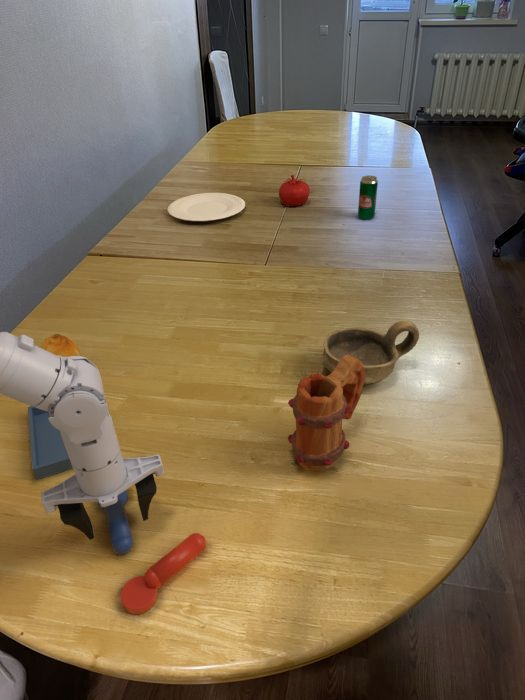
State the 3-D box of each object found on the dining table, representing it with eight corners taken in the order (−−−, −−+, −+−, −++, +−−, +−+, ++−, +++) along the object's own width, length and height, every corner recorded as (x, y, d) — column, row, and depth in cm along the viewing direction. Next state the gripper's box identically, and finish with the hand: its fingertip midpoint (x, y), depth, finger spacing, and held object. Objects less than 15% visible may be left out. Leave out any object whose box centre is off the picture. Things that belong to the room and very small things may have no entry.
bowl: (313, 353, 101) (315, 310, 95) (401, 345, 102) (407, 302, 96) (328, 399, 90) (330, 353, 84) (426, 390, 91) (435, 344, 85)
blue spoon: (142, 551, 67) (139, 539, 66) (109, 563, 66) (105, 552, 64) (124, 484, 76) (121, 472, 75) (96, 493, 75) (92, 481, 74)
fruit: (97, 354, 100) (68, 322, 96) (70, 382, 94) (39, 349, 91) (74, 363, 105) (46, 333, 101) (47, 390, 99) (17, 359, 96)
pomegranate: (312, 207, 166) (312, 178, 160) (281, 210, 165) (281, 180, 159) (306, 197, 174) (306, 169, 168) (276, 199, 173) (276, 171, 167)
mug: (318, 489, 74) (322, 411, 65) (277, 460, 79) (275, 384, 70) (376, 435, 83) (386, 359, 74) (335, 412, 87) (340, 338, 79)
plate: (233, 228, 154) (233, 222, 153) (155, 223, 159) (154, 217, 158) (254, 199, 174) (253, 194, 173) (184, 196, 179) (183, 190, 178)
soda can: (354, 218, 157) (357, 178, 150) (362, 213, 160) (365, 174, 153) (369, 221, 154) (373, 181, 147) (377, 216, 158) (381, 176, 151)
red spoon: (194, 533, 69) (192, 521, 67) (215, 553, 67) (213, 541, 65) (115, 597, 62) (111, 585, 61) (135, 622, 60) (130, 610, 58)
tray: (98, 460, 80) (95, 450, 79) (36, 479, 78) (32, 469, 76) (86, 401, 92) (83, 391, 90) (31, 416, 89) (27, 406, 88)
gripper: (32, 498, 56) (64, 569, 64) (163, 456, 60) (178, 527, 68) (29, 454, 61) (59, 525, 69) (149, 418, 66) (165, 489, 73)
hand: (118, 523), depth 69 cm, fingers open, 6 cm apart
